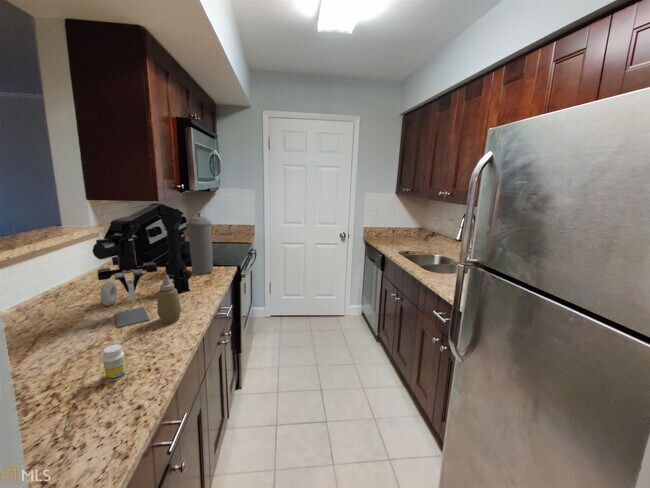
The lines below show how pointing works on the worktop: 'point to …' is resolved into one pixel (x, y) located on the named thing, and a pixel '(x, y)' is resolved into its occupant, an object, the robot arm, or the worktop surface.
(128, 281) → the tile
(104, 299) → the donut
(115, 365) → the supplement bottle
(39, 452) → the worktop surface
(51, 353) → the worktop surface
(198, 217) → the canister
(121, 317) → the mat
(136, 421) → the worktop surface
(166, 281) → the squeeze bottle
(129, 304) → the worktop surface
